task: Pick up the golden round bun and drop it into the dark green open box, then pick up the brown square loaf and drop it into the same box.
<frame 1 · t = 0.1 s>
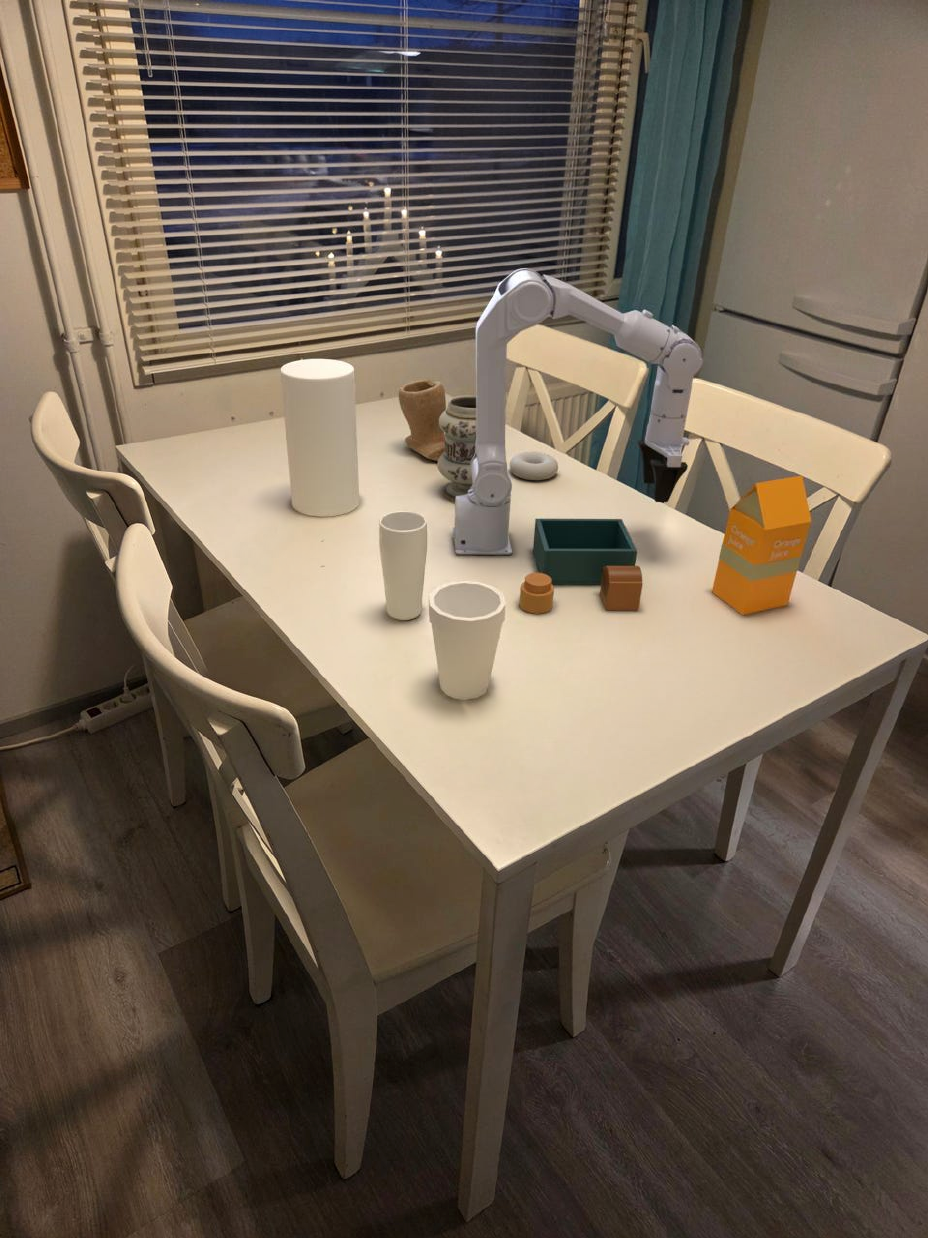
hand: (655, 491, 138), 10 cm above the table, tool pointing down, fingers open, 7 cm apart
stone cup: (430, 453, 178), on the table
orange juice: (749, 599, 129), on the table
dark green open box: (580, 567, 136), on the table
round bread: (535, 605, 126), on the table
foam cup: (463, 686, 108), on the table
cylinder: (325, 503, 155), on the table
drinking glass: (404, 613, 123), on the table
apothecary jar: (467, 493, 161), on the table
square bread: (618, 601, 127), on the table
donut: (533, 474, 170), on the table
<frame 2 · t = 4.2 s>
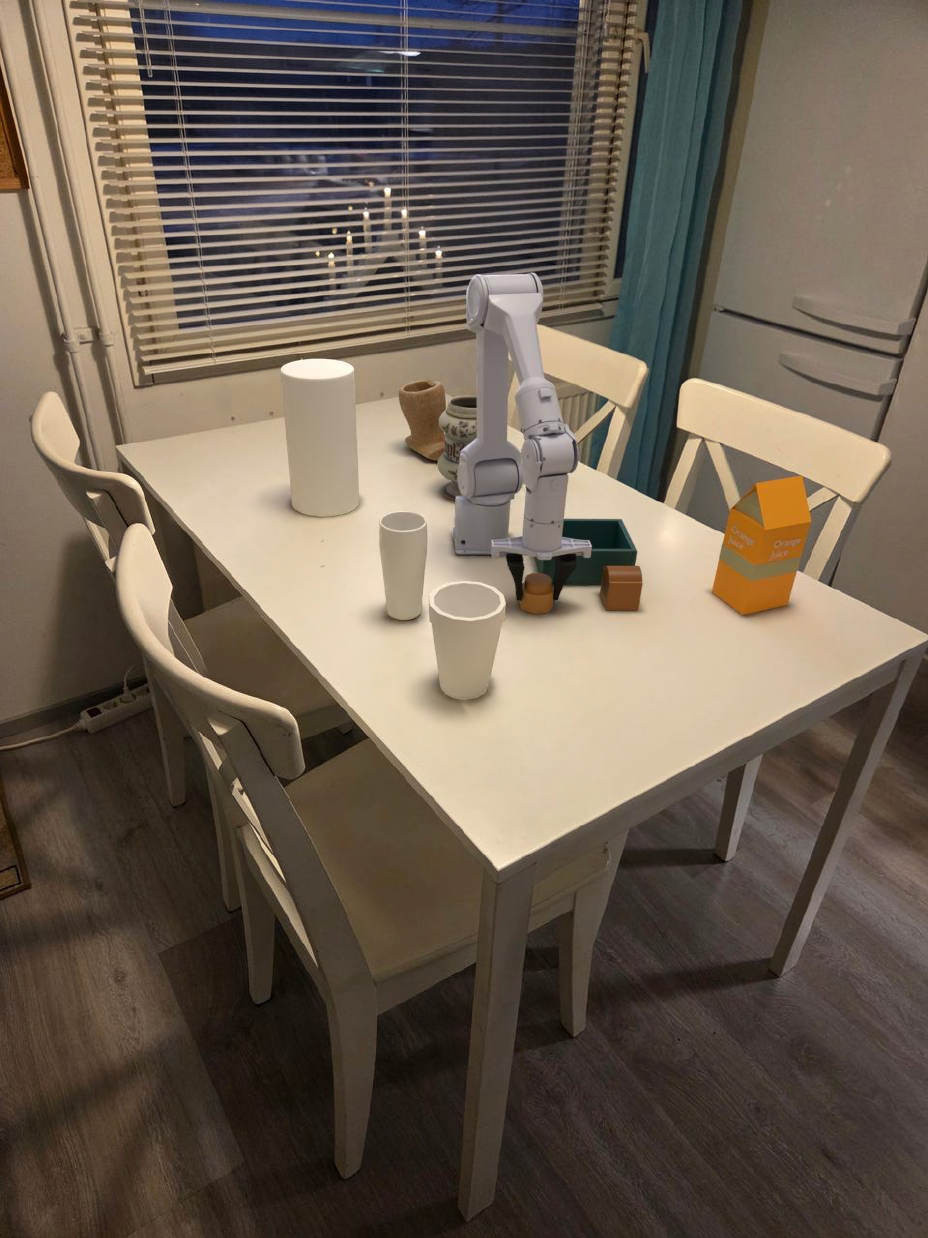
hand: (536, 597, 125), 1 cm above the table, tool pointing down, fingers closed on round bread, 5 cm apart
round bread: (536, 605, 126), on the table, touching gripper
everything else where it was.
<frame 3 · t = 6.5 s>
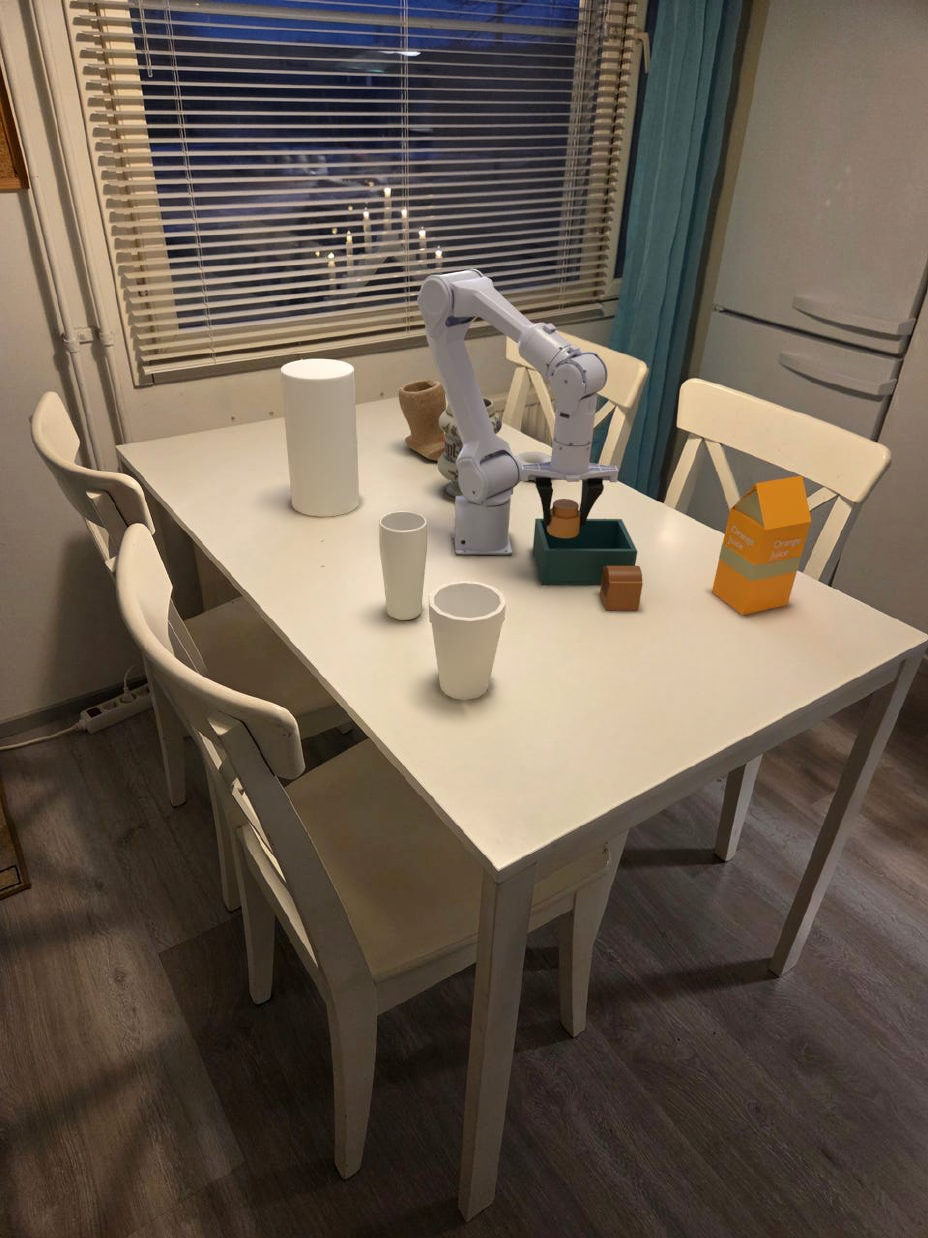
hand: (563, 522, 129), 9 cm above the table, tool pointing down, fingers closed on round bread, 5 cm apart
round bread: (562, 531, 129), point 8 cm above the table, touching gripper
everything else where it was.
when the fingers open (5 cm above the table, at t = 8.7 s): round bread drops 3 cm, resting on dark green open box.
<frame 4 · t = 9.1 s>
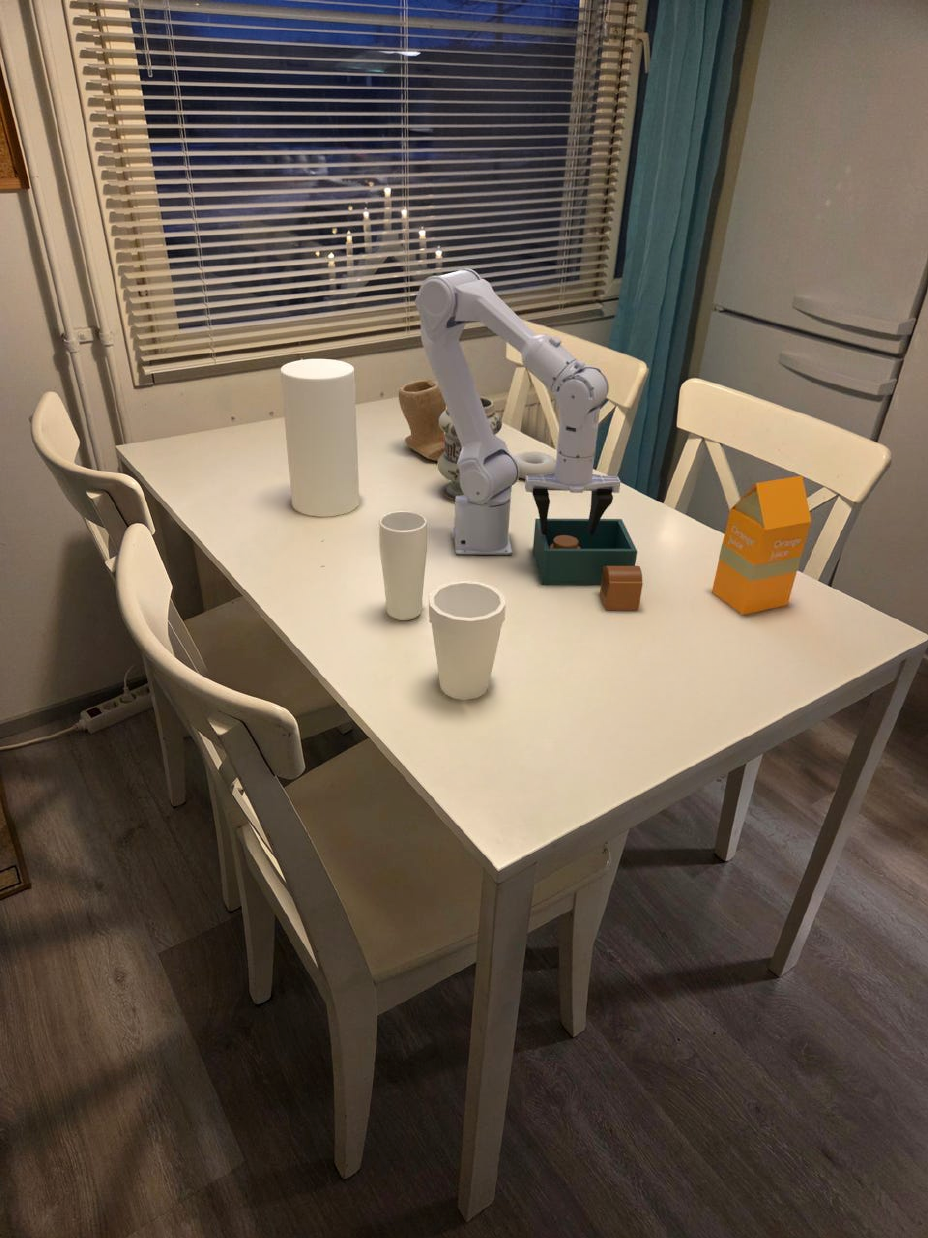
hand: (567, 532, 132), 7 cm above the table, tool pointing down, fingers open, 7 cm apart
round bread: (563, 565, 135), point 1 cm above the table, touching dark green open box
everything else where it was.
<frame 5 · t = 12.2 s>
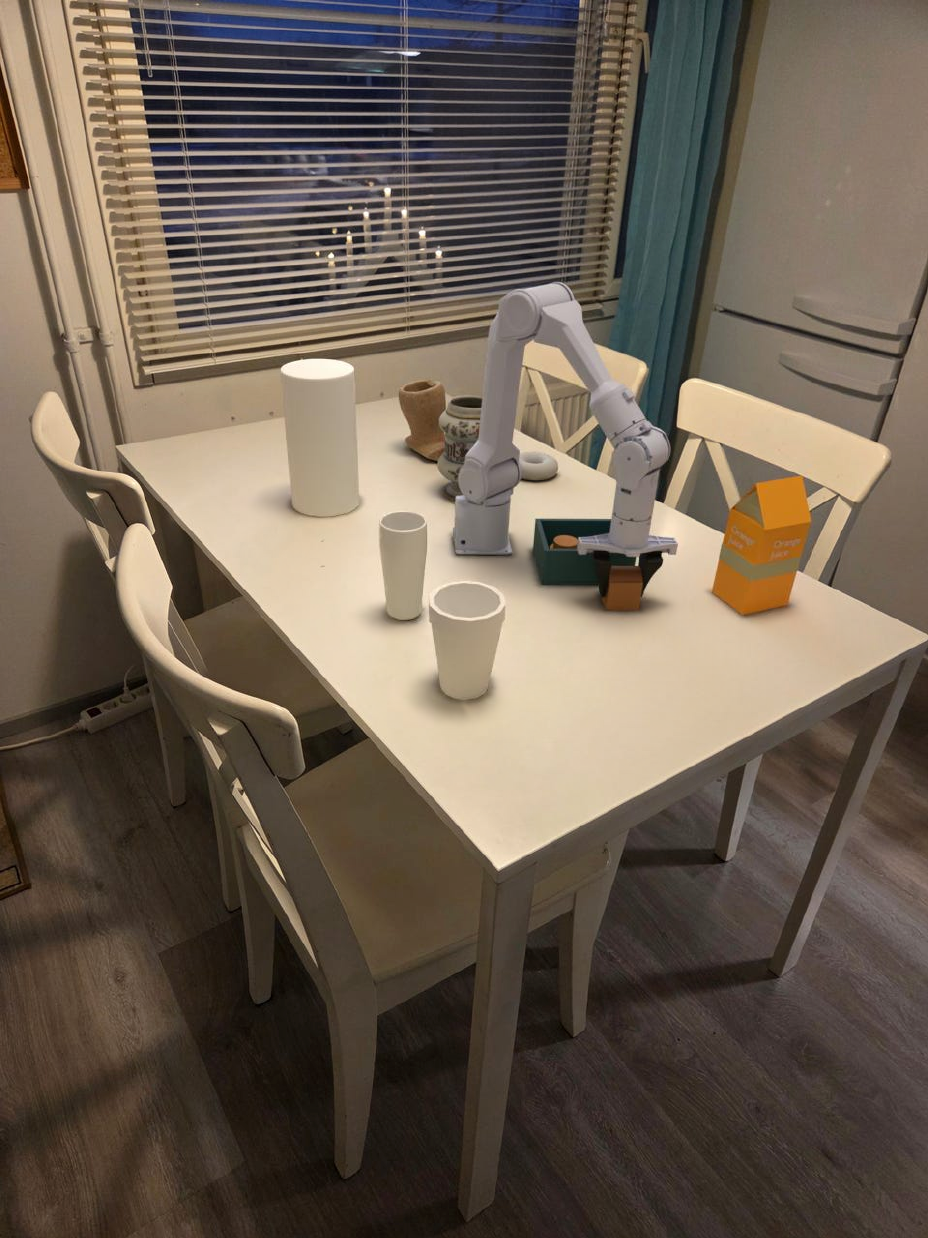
hand: (619, 594, 126), 1 cm above the table, tool pointing down, fingers closed on square bread, 5 cm apart
square bread: (618, 601, 127), on the table, touching gripper
everything else where it was.
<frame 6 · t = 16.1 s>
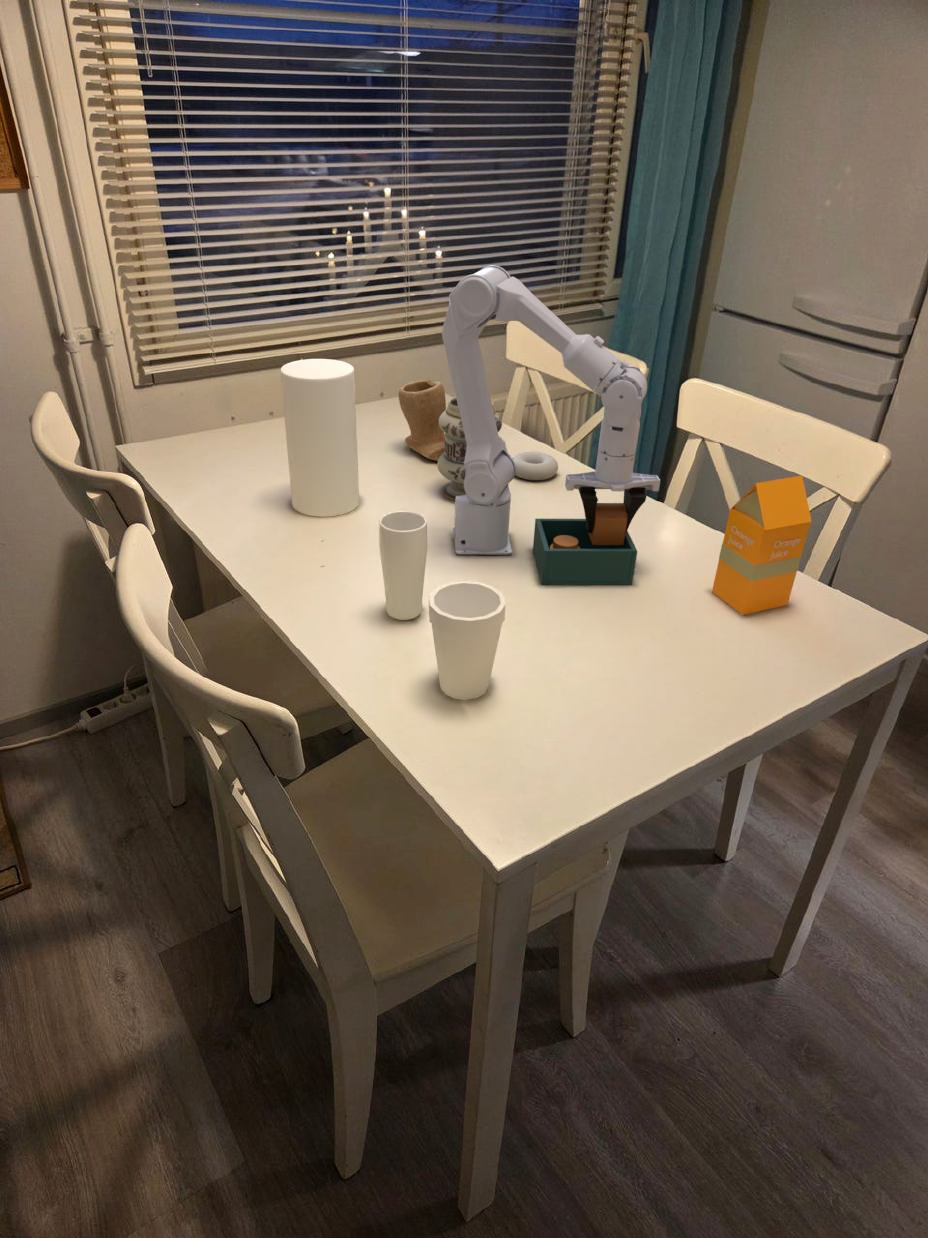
hand: (605, 530, 133), 7 cm above the table, tool pointing down, fingers closed on square bread, 5 cm apart
square bread: (605, 538, 134), point 5 cm above the table, touching gripper
everything else where it was.
when the fingers open (9 cm above the table, at t = 35.7 s): square bread drops 7 cm, resting on dark green open box.
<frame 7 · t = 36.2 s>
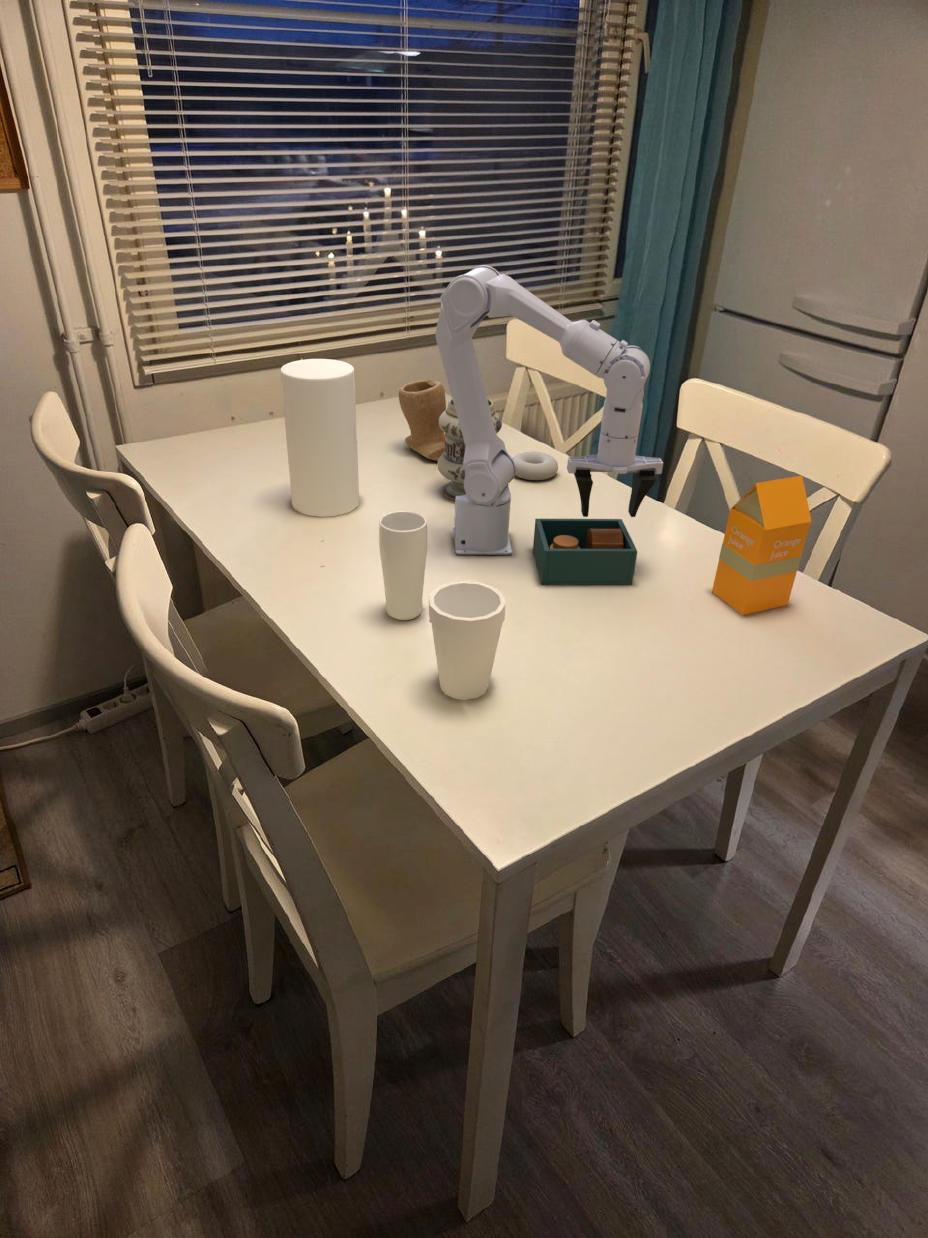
hand: (608, 514, 132), 9 cm above the table, tool pointing down, fingers open, 7 cm apart
square bread: (601, 562, 136), point 1 cm above the table, touching dark green open box
everything else where it was.
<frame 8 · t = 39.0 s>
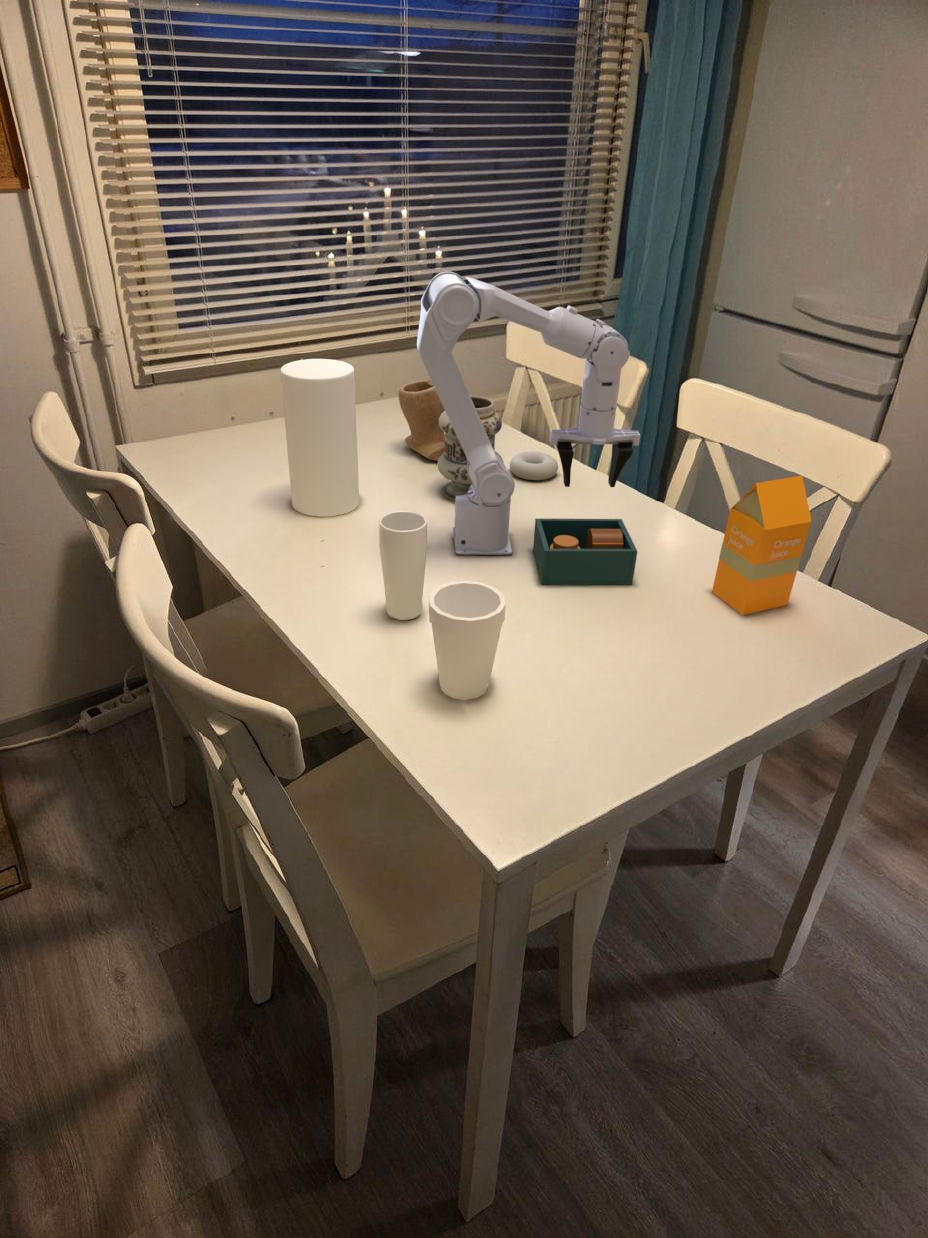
hand: (588, 484, 139), 10 cm above the table, tool pointing down, fingers open, 7 cm apart
nothing on the table moved.
at the end: round bread inside the target area in the dark green open box (3.0 cm from its centre), point 0.6 cm above the dark green open box's base; square bread inside the target area in the dark green open box (3.5 cm from its centre), point 0.6 cm above the dark green open box's base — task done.
